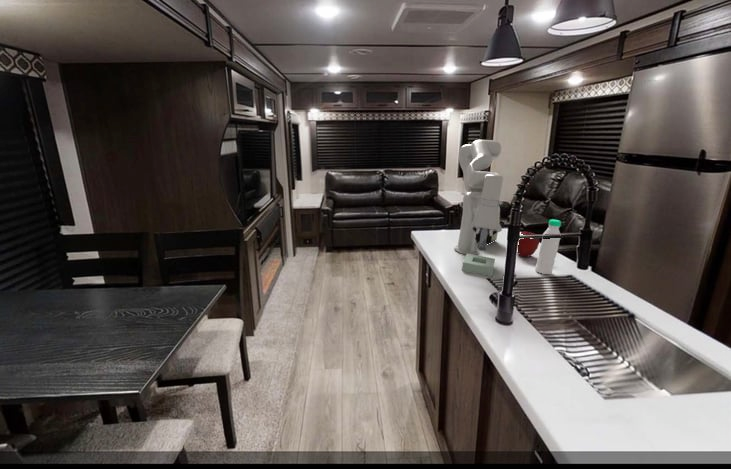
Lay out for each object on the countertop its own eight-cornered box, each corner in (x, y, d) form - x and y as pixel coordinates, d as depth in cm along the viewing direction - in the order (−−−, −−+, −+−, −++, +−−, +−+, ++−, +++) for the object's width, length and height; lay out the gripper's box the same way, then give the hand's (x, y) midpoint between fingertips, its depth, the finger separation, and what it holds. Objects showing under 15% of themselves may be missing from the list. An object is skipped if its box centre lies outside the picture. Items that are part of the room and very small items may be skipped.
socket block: (465, 261, 164) (466, 253, 163) (493, 266, 160) (495, 258, 159) (461, 270, 153) (462, 262, 152) (491, 276, 148) (493, 268, 147)
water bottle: (542, 268, 161) (554, 217, 154) (555, 274, 155) (568, 222, 148) (531, 269, 159) (543, 218, 151) (543, 276, 152) (556, 222, 145)
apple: (508, 250, 184) (513, 227, 180) (530, 252, 183) (536, 229, 179) (515, 258, 172) (521, 233, 168) (539, 260, 171) (545, 235, 167)
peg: (477, 247, 156) (481, 224, 153) (486, 248, 154) (490, 225, 151) (476, 249, 152) (480, 226, 149) (485, 251, 151) (490, 227, 148)
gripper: (510, 204, 147) (502, 243, 153) (470, 199, 153) (464, 237, 159) (510, 207, 141) (502, 248, 146) (468, 201, 147) (462, 241, 152)
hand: (482, 242), depth 152 cm, fingers closed on peg, 4 cm apart
